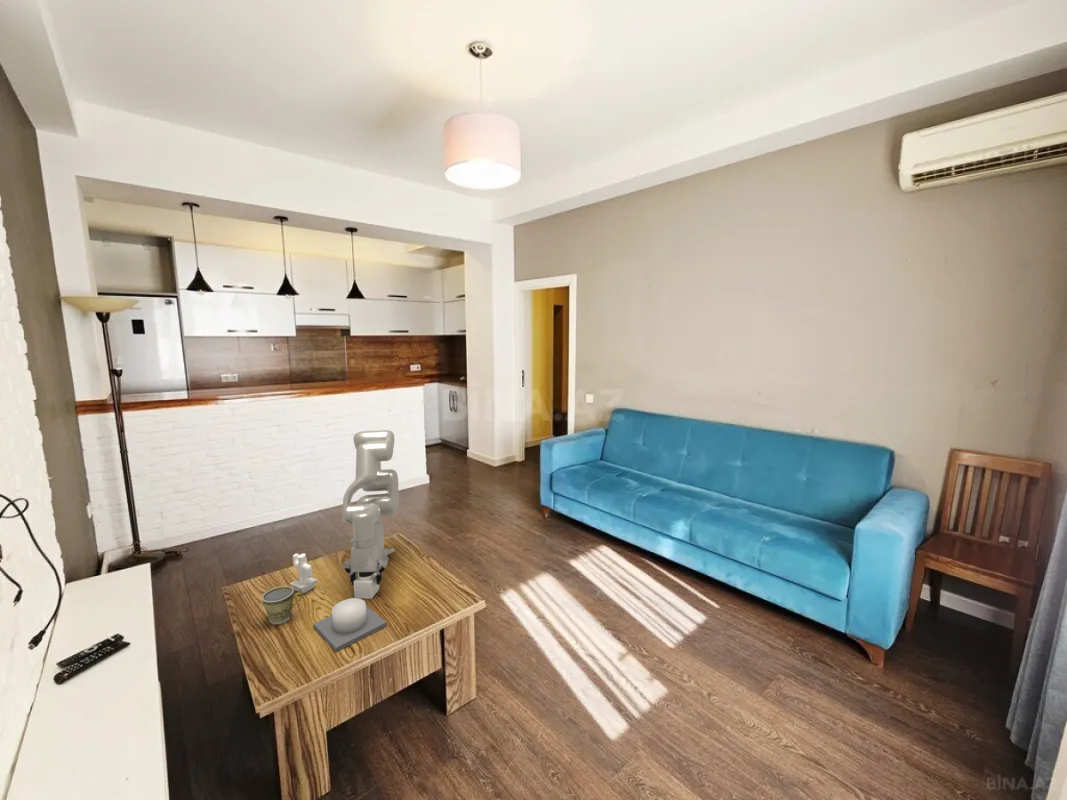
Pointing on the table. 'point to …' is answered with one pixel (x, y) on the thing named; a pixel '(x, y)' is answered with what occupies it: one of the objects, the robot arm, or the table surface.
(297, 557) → the figurine
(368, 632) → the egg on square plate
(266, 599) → the ceramic cup
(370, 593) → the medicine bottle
